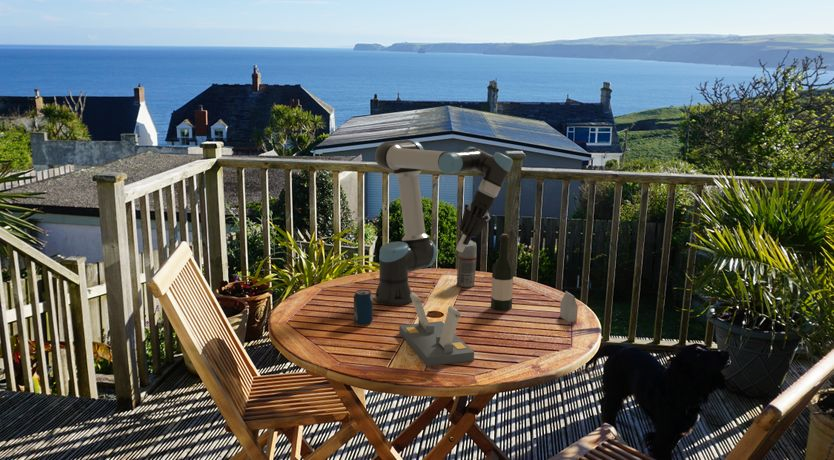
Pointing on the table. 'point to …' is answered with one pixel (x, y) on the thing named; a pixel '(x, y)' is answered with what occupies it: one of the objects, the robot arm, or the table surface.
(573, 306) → the tea bag
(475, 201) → the robot arm
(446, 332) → the lever
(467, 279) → the spray can
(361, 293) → the soda can
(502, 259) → the wine bottle
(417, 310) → the lever
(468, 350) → the switch board
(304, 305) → the table surface
